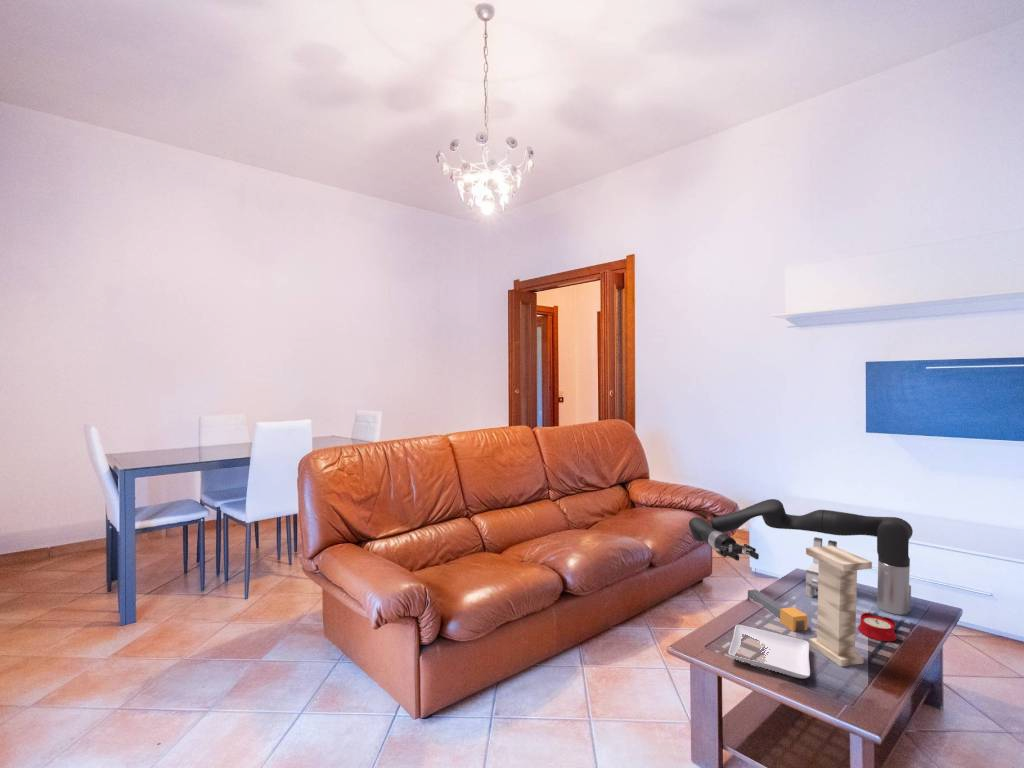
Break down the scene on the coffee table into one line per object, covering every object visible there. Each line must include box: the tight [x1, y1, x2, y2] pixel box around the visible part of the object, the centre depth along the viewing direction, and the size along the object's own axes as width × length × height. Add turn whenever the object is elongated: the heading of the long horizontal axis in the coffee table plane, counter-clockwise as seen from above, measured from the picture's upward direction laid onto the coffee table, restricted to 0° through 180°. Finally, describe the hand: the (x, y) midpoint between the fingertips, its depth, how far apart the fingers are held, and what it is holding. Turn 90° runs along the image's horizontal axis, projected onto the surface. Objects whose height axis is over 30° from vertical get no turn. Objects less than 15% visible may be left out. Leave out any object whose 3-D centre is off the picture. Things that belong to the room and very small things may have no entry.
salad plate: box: [728, 624, 811, 679], centre depth 154 cm, size 21×21×3 cm
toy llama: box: [805, 536, 838, 598], centre depth 198 cm, size 8×18×20 cm, turn 136°
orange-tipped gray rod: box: [747, 589, 808, 632], centre depth 182 cm, size 6×24×5 cm, turn 12°
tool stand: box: [805, 545, 873, 667], centre depth 156 cm, size 10×14×31 cm
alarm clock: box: [857, 612, 898, 642], centre depth 170 cm, size 10×6×15 cm
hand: (748, 557), depth 194 cm, fingers open, 8 cm apart
